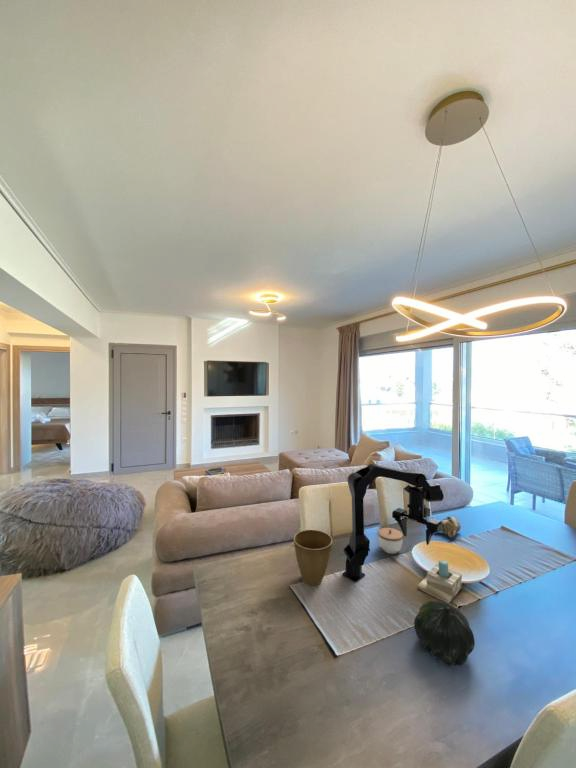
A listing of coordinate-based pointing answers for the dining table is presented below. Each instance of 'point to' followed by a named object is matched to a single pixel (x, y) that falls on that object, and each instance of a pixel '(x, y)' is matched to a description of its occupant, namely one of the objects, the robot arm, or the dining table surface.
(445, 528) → the ceramic sculpture
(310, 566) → the plant pot
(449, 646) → the squash
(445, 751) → the dining table surface
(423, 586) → the socket board
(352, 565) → the robot arm
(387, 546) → the lidded jar
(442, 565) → the peg
